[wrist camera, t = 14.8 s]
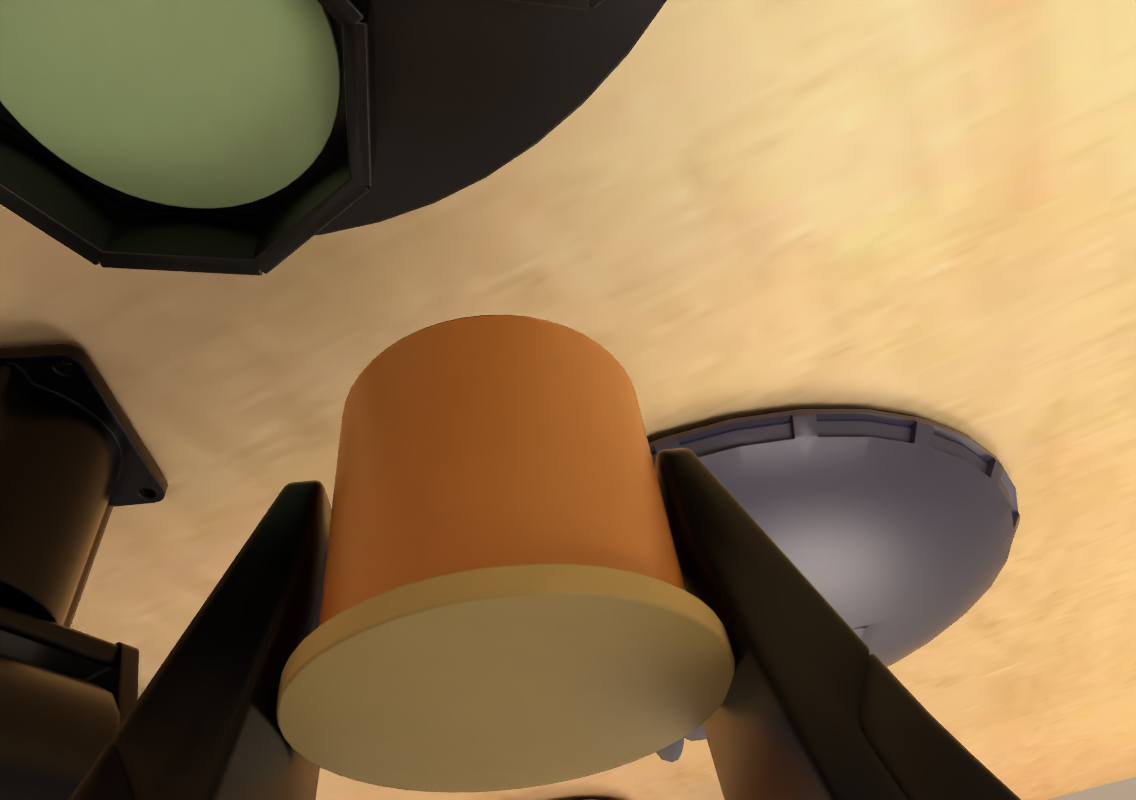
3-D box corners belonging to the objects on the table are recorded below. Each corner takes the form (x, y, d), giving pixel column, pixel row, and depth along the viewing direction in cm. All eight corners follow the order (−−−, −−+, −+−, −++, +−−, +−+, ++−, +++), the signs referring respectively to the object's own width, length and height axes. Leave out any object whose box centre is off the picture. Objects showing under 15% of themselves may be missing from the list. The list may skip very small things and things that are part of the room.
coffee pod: (644, 510, 13) (703, 767, 10) (354, 536, 12) (330, 813, 9) (675, 279, 9) (778, 567, 6) (279, 305, 9) (208, 626, 6)
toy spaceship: (940, 684, 46) (966, 739, 44) (543, 757, 47) (548, 815, 45) (1091, 339, 25) (1154, 410, 23) (384, 483, 27) (379, 564, 24)
